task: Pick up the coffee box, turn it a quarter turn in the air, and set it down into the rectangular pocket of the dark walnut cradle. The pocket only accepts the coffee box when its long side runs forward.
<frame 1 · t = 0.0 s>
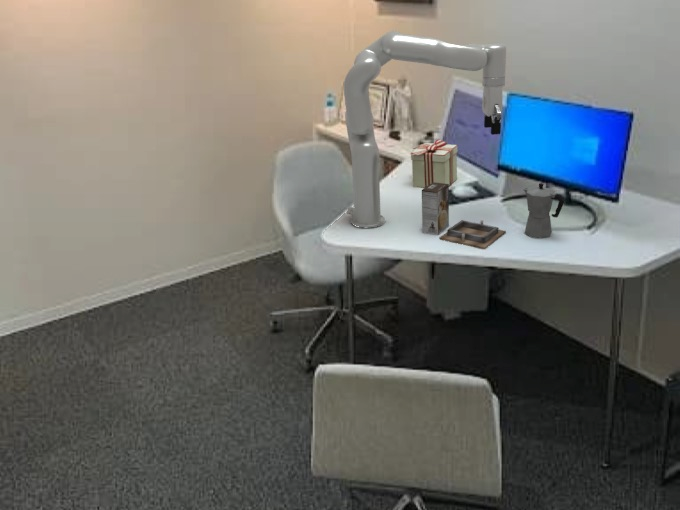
hand: (492, 130, 253), 31 cm above the table, tool pointing down, fingers open, 9 cm apart
gift box: (431, 183, 301), on the table
cradle: (472, 236, 248), on the table
coffee box: (435, 230, 255), on the table
coffeepot: (540, 234, 246), on the table
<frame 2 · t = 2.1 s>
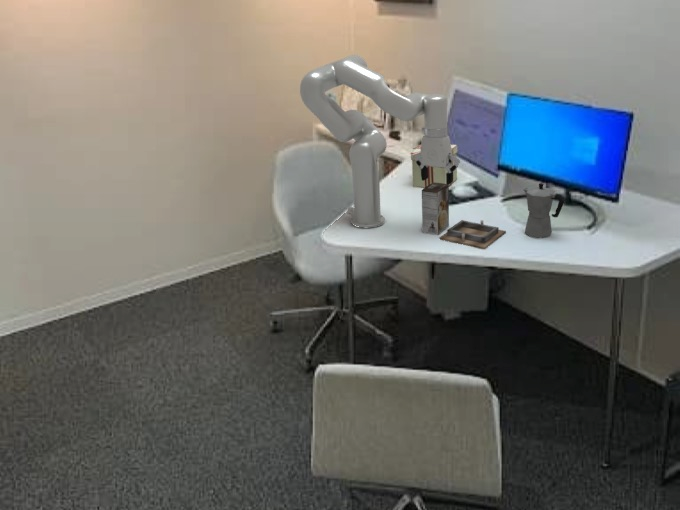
hand: (437, 181, 247), 18 cm above the table, tool pointing down, fingers open, 9 cm apart
nothing on the table moved.
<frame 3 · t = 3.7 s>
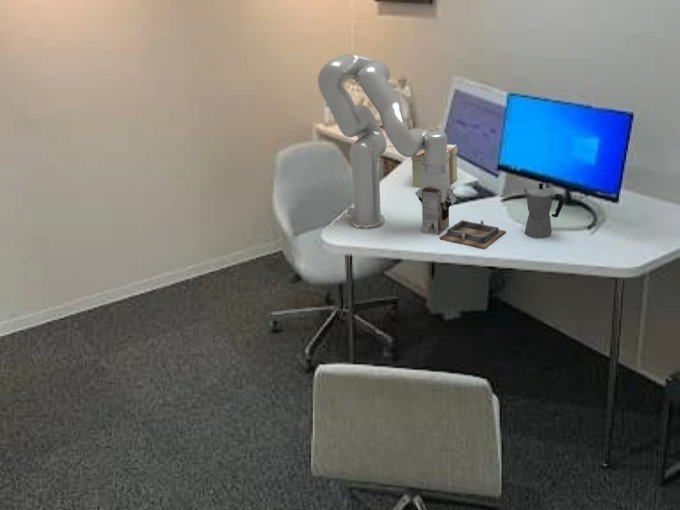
hand: (435, 216, 253), 5 cm above the table, tool pointing down, fingers closed on coffee box, 6 cm apart
coffee box: (435, 230, 255), on the table, touching gripper
everything else where it was.
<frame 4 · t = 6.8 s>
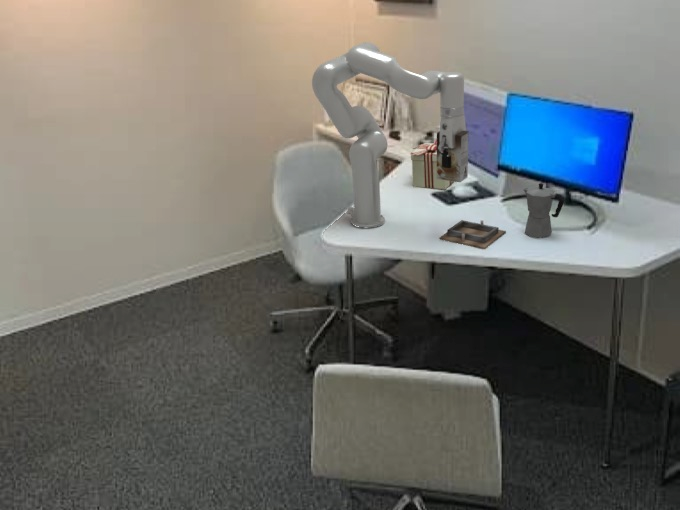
hand: (452, 164, 241), 25 cm above the table, tool pointing down, fingers closed on coffee box, 6 cm apart
coffee box: (452, 178, 243), point 20 cm above the table, touching gripper
everything else where it was.
when the fingers open (7 cm above the table, at t = 10.2 s): coffee box stays where it is, resting on cradle.
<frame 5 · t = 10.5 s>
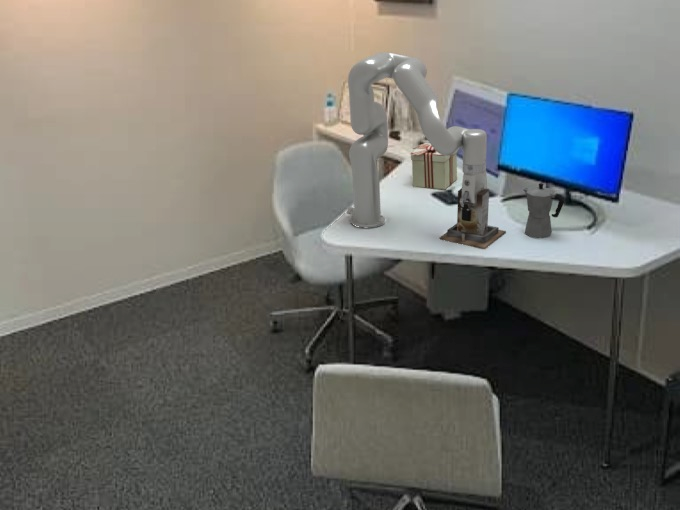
hand: (473, 215, 245), 7 cm above the table, tool pointing down, fingers open, 9 cm apart
coffee box: (472, 234, 248), point 1 cm above the table, touching cradle
everything else where it was.
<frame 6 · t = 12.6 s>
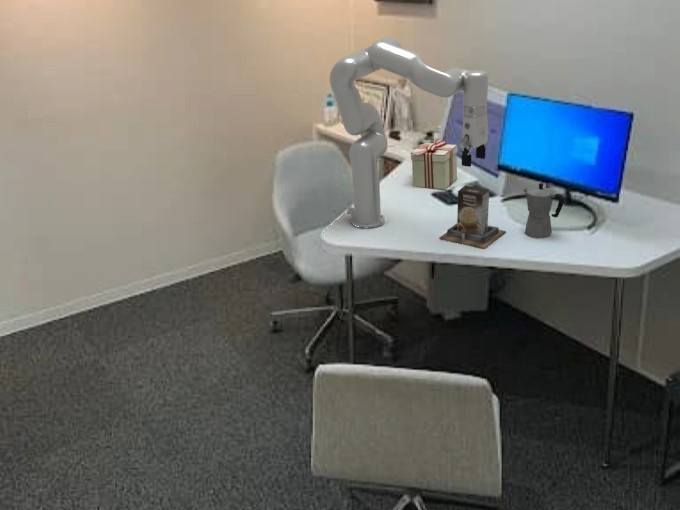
hand: (473, 162, 237), 26 cm above the table, tool pointing down, fingers open, 9 cm apart
nothing on the table moved.
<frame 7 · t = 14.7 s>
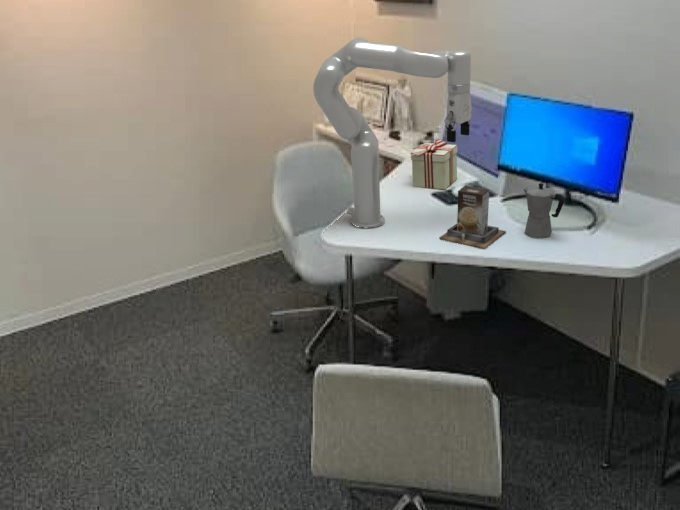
hand: (458, 138, 250), 30 cm above the table, tool pointing down, fingers open, 9 cm apart
nothing on the table moved.
at the end: coffee box 0.2 cm off-centre on the cradle, point 0.6 cm above the cradle's base; coffee box tilted 0°; the gripper is holding nothing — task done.
